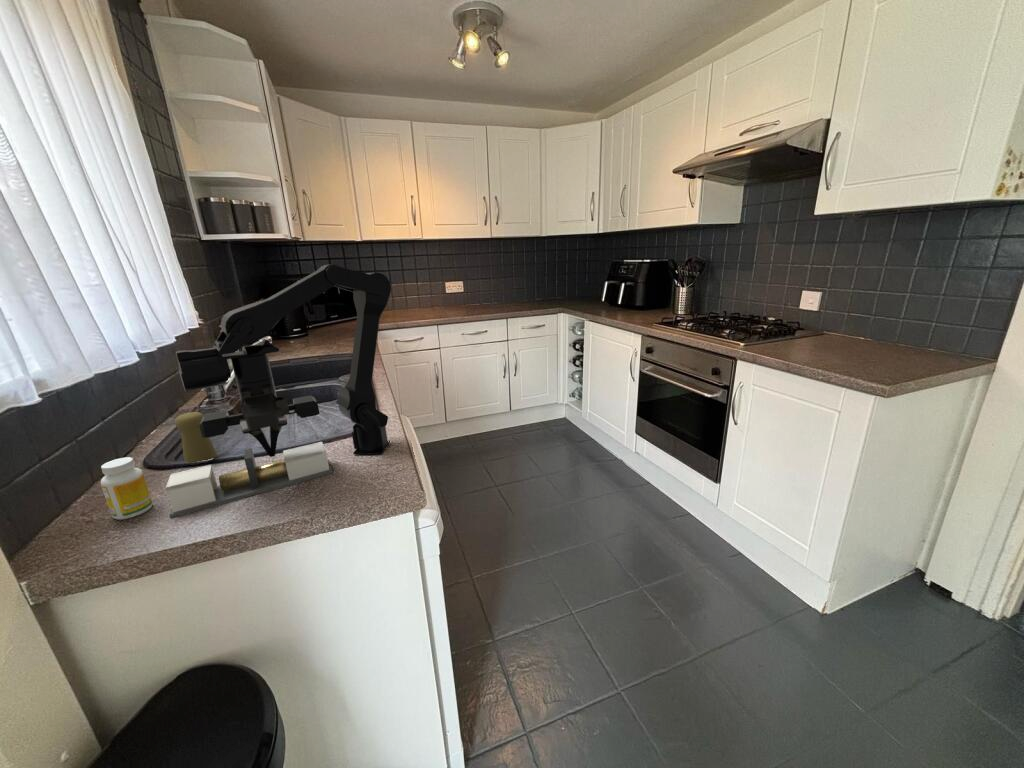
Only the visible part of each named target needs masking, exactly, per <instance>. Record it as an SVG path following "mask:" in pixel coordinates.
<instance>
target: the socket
mask: <svg viewBox="0 0 1024 768" xmlns="http://www.w3.org/2000/svg"><path fill="white" fill-rule="evenodd" d="M214 471H215V470H214V468H213V464H208V465H204V466H199V467H195V468H191V469H186V470H182V471H178V472H173V473H171V474H170V476H169V478H168V481H167V483H166V486H165V489H166V493H167V496H168V499H169V503H170V506H171V508H172V509H173V512H176V511H180V510H184V509H187V508H191V507H195V506H199V505H202V504H206V503H210V502H213V501H216V497H215V493H214V490H215V489H218V486H219V485H218V483H217V479H216V476H215V472H214Z"/></svg>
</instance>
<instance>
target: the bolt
mask: <svg viewBox="0 0 1024 768" xmlns="http://www.w3.org/2000/svg"><path fill="white" fill-rule="evenodd" d="M243 458H244V459H243V460H244V463H245V466H246V468H245V469H240V470H236V471H233V472H229V473H224V474H221V475H218V481H219V485H220V487H221V490H222V491H226V490H230V489H234V488H238V487H241V486H245V485H249V484H251V488H256V487H259V482H260V481H264V480H268V479H272V478H276V477H279V476H283V475H287V474H288V472H287V468H286V463H285V459H281V460H277V461H273V462H269V463H266V464H261V465H257V463H256V459H255V455H254V450H253V448H252V447H251V448H246V449H244V457H243Z"/></svg>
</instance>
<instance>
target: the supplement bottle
mask: <svg viewBox="0 0 1024 768" xmlns="http://www.w3.org/2000/svg"><path fill="white" fill-rule="evenodd" d="M135 465H136V463H135V461H134V458H133V457H129V456H127V457H126V456H125V457H119V458H116V459H113V460H110V461H107V462H105V463H103V464H102V465H101V466H100V468H101V471H102V474H103V477H102V478H101V480H100V486H101V489H102V491H103V494H104V497H105V500H106V504H107V506H108V509H109V512H110V514H111V517H112V518H113V519H115V520H127V519H130V518H134V517H137V516H139V515H143V514H144V513H146V512H148V511H149V510H150V509H151V508H152V506H153V501H152V500H153V499H152V497H151V493H150V491H149V486H148V484H147V481H146V478H145V474H144V472H143V470H142V469H140V468H138V467H135Z"/></svg>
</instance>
